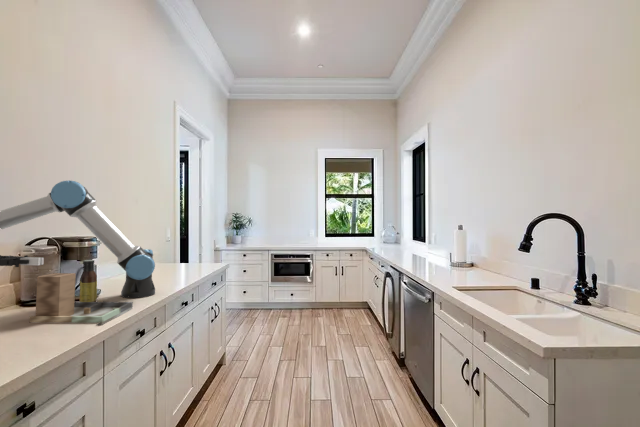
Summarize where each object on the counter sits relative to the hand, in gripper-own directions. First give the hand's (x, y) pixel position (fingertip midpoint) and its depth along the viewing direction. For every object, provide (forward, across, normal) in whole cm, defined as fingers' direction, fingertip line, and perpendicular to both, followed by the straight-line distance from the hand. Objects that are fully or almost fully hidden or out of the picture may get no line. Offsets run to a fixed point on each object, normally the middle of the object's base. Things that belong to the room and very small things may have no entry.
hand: (40, 261), depth 120 cm
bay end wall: (+26, 0, -22) cm, 34 cm away
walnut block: (+6, 0, -21) cm, 22 cm away
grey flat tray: (+14, -4, -22) cm, 27 cm away
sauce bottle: (+4, -21, -22) cm, 31 cm away
